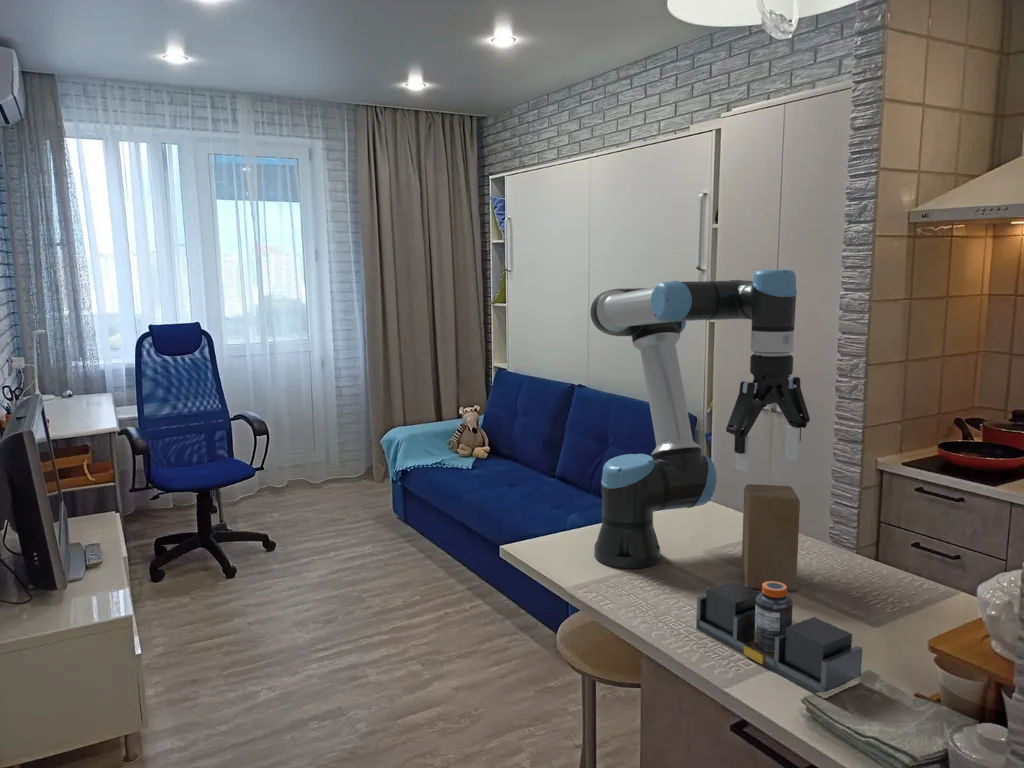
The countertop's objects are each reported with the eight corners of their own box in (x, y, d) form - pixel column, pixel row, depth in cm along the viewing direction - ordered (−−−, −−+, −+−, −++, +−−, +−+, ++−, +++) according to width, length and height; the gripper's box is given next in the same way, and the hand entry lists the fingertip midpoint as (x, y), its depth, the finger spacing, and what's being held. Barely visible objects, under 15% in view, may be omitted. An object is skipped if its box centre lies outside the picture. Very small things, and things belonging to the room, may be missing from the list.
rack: (694, 629, 136) (695, 588, 135) (730, 617, 141) (731, 577, 139) (822, 700, 113) (825, 651, 112) (860, 683, 117) (863, 635, 116)
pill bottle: (778, 637, 130) (781, 576, 129) (798, 654, 124) (801, 590, 123) (747, 641, 129) (749, 579, 127) (765, 658, 123) (768, 593, 122)
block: (796, 593, 151) (801, 498, 148) (745, 589, 153) (748, 496, 150) (788, 574, 160) (792, 484, 158) (740, 570, 162) (743, 482, 160)
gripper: (740, 360, 128) (736, 479, 131) (832, 351, 140) (827, 459, 143) (708, 356, 134) (705, 470, 137) (799, 348, 146) (794, 452, 150)
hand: (767, 465), depth 140 cm, fingers open, 13 cm apart
